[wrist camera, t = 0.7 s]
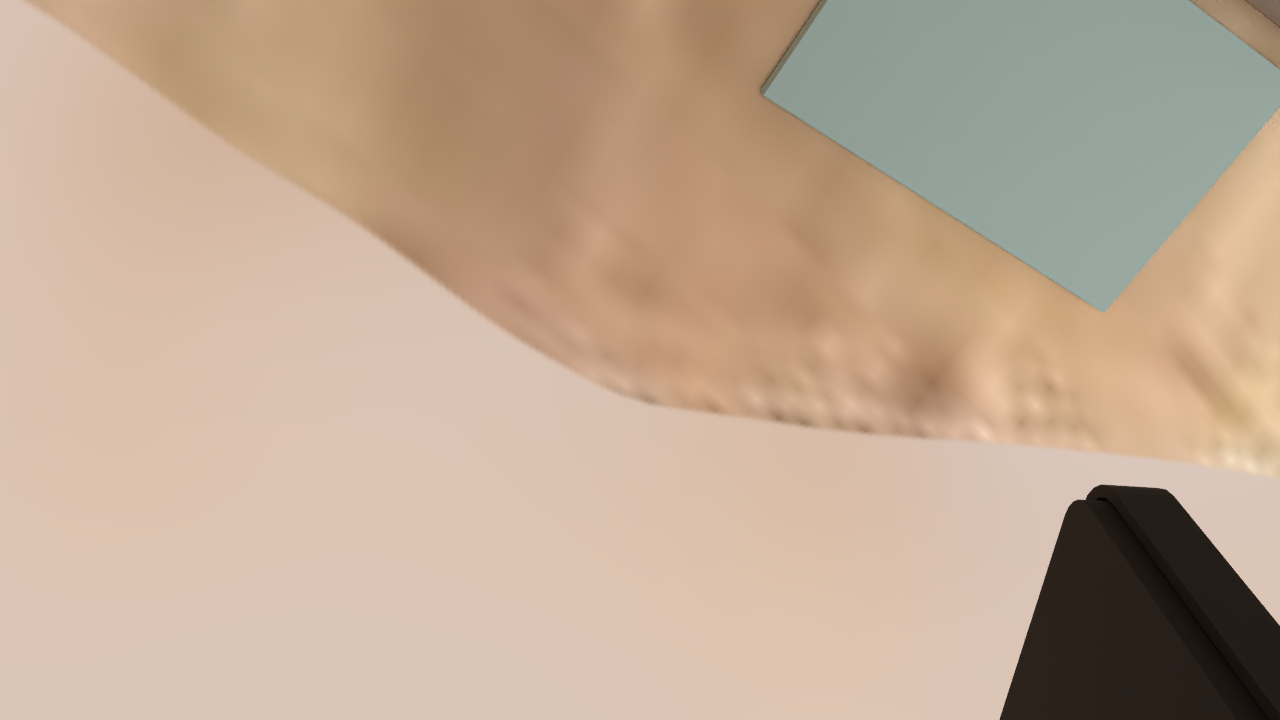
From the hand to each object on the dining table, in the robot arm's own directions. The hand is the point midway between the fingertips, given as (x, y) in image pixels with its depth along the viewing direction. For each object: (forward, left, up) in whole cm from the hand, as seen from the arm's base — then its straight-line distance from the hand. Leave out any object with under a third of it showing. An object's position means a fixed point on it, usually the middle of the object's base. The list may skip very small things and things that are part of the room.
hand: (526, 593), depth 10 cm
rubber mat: (-6, +14, -28) cm, 32 cm away
